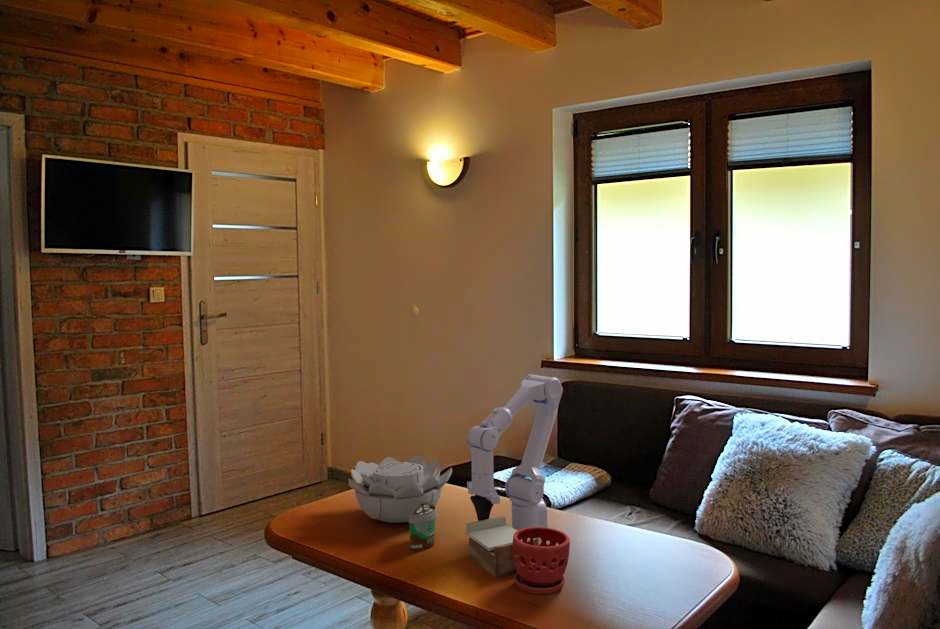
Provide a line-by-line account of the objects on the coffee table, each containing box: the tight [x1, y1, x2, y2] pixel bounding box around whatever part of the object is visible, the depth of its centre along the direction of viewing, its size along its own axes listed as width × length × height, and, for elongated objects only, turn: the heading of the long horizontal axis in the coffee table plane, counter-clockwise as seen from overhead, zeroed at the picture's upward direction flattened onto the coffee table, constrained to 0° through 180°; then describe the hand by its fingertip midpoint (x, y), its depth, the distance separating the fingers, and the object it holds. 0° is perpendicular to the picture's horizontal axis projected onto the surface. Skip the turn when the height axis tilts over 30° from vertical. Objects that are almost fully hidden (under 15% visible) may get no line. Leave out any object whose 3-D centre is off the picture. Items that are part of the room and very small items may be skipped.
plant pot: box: [513, 527, 571, 595], centre depth 172 cm, size 13×13×12 cm
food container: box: [408, 501, 439, 552], centre depth 198 cm, size 12×6×10 cm, turn 168°
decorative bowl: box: [348, 454, 453, 524], centre depth 219 cm, size 30×30×15 cm
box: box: [468, 537, 539, 578], centre depth 186 cm, size 12×14×7 cm
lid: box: [464, 515, 530, 551], centre depth 188 cm, size 12×13×3 cm
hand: (483, 523), depth 194 cm, fingers closed
